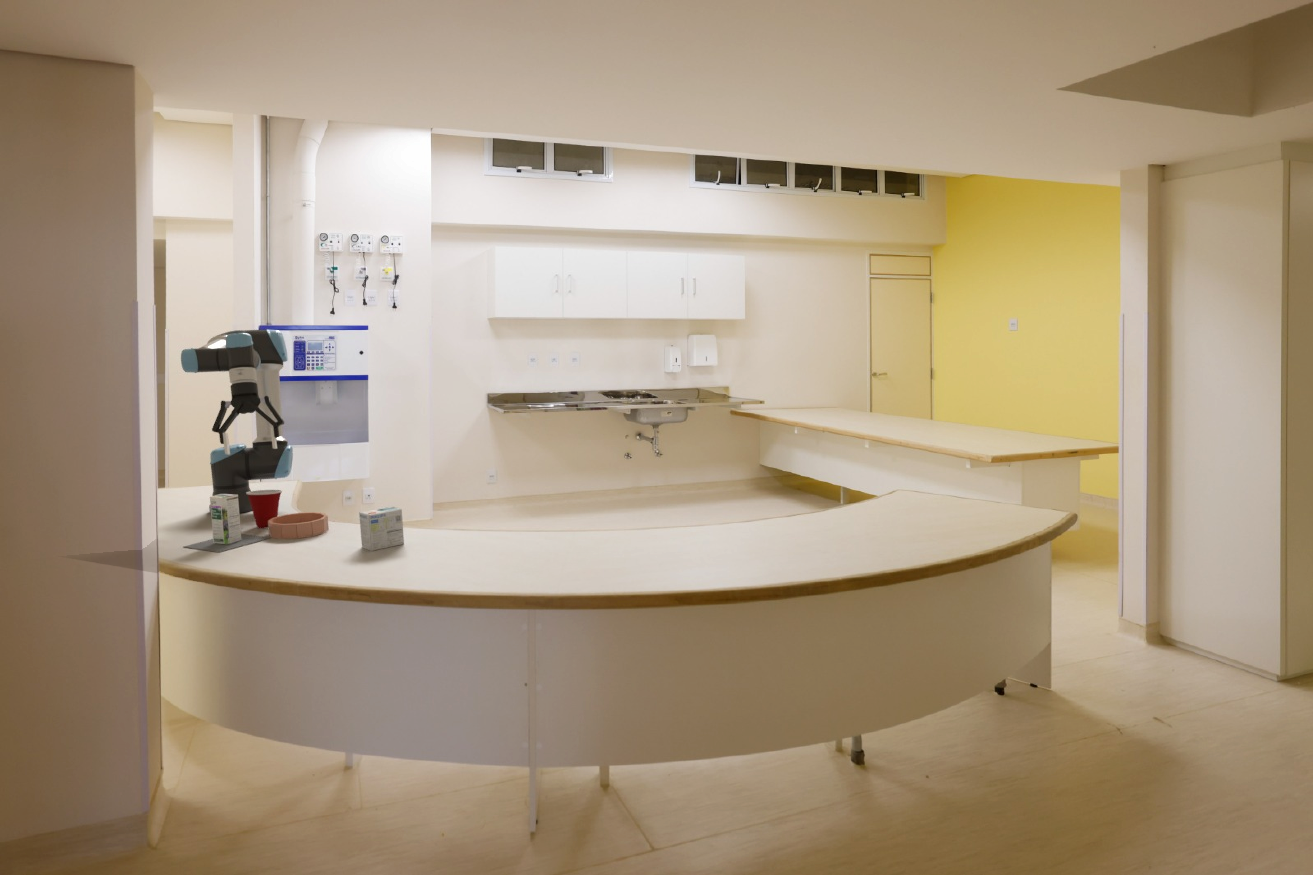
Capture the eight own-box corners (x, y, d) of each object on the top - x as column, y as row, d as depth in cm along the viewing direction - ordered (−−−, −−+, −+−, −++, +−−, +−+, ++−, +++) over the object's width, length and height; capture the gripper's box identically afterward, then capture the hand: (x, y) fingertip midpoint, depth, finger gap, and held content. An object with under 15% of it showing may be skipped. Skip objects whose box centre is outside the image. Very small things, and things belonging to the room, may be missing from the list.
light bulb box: (394, 540, 260) (391, 505, 259) (405, 544, 256) (402, 508, 254) (360, 547, 253) (358, 511, 252) (371, 551, 248) (368, 514, 247)
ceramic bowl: (301, 523, 285) (300, 510, 284) (339, 528, 278) (338, 514, 277) (257, 535, 270) (256, 521, 269) (296, 540, 262) (295, 526, 262)
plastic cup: (291, 522, 288) (288, 487, 286) (274, 530, 277) (271, 493, 276) (260, 522, 289) (257, 487, 287) (242, 530, 278) (238, 493, 277)
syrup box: (212, 543, 260) (208, 496, 258) (228, 539, 266) (224, 492, 264) (227, 545, 258) (222, 497, 256) (242, 540, 264) (238, 493, 262)
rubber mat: (235, 533, 274) (235, 532, 274) (271, 538, 267) (271, 537, 267) (183, 547, 258) (183, 546, 258) (219, 552, 251) (219, 551, 251)
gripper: (196, 386, 259) (203, 455, 258) (284, 376, 265) (291, 444, 263) (203, 389, 267) (211, 457, 265) (289, 380, 272) (296, 447, 270)
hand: (251, 451), depth 264 cm, fingers open, 13 cm apart
